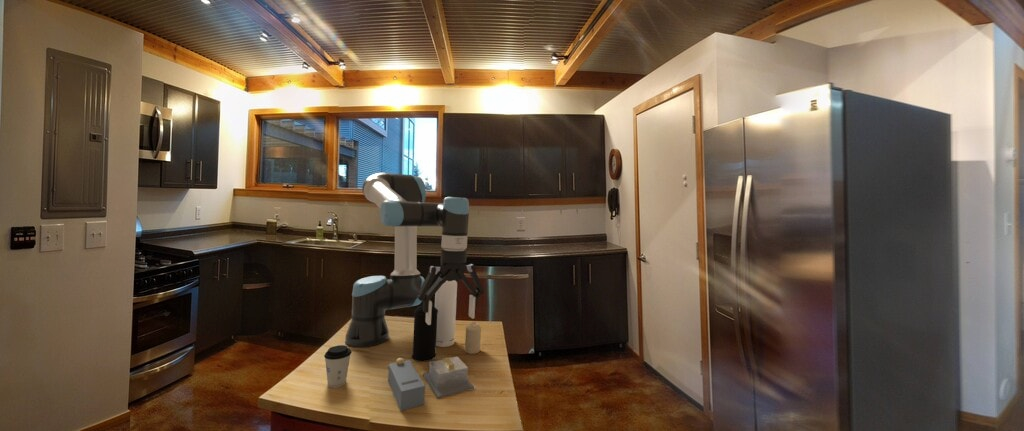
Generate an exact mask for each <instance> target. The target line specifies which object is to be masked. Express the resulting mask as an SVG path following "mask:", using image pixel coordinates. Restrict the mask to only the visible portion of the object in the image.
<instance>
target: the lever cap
mask: <svg viewBox="0 0 1024 431" xmlns="http://www.w3.org/2000/svg"><path fill="white" fill-rule="evenodd" d="M428 362H429V364H428V368H429V369H428V372H429V378H430V380H431V381H432V383H433V384H434V386H435V387H436V389H437V390H440V389H444V388H448V387H452V386H456V385H460V384H464V383H467V379H468V369H469V368H468V366H467V365H466V364H465V363H464V362H463V361H462V360H461V359H460V357H458V356H454V357H453V356H452V357H444V358H443V359H438V360H434V361H428Z"/></svg>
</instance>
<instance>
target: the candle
mask: <svg viewBox="0 0 1024 431" xmlns="http://www.w3.org/2000/svg"><path fill="white" fill-rule="evenodd" d="M481 335H482V327H481V325H480V324H479V323H477V322H475V321H472V322H470V323H469V324H468V325H466V327H465V339H464V340H465V342H464V352H465V353H467V354H471V355H473V354H474V355H475V354H477V353H480V350H481V337H482V336H481Z"/></svg>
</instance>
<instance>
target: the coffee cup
mask: <svg viewBox="0 0 1024 431" xmlns="http://www.w3.org/2000/svg"><path fill="white" fill-rule="evenodd" d="M351 355H352V350H351V348H349V347H348V345H343V344H341V345H340V344H339V345H334V346H331V347H329V348H327V351H326V352H325V353H324V355H323V356H324V360H325V361H324V362H325V368H326V380H327V386H328V387H329V388H339V387H343V386H344V385H345V384H346V382H347V376H348V371H349V366H350V359H351Z"/></svg>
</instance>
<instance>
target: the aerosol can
mask: <svg viewBox="0 0 1024 431" xmlns="http://www.w3.org/2000/svg"><path fill="white" fill-rule="evenodd" d="M437 313H438V310H437V309H436V308H435V305H432V311H431V325H428V324H427V323H426V322H425V320H426V313H424V312H423V304H420V305H418V306H417V308H416V309H415V310H414V311H413V314H414V315H413V316H414V318H413V319H414V320H413V336H412V337H413V339H412V341H413V342H412V354H411V359H412V360H414V361H416V362H430V361H432V360H434V359H435V358H436V357H437V352H436V349H437V346H436V341H437V340H436V333H437Z"/></svg>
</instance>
